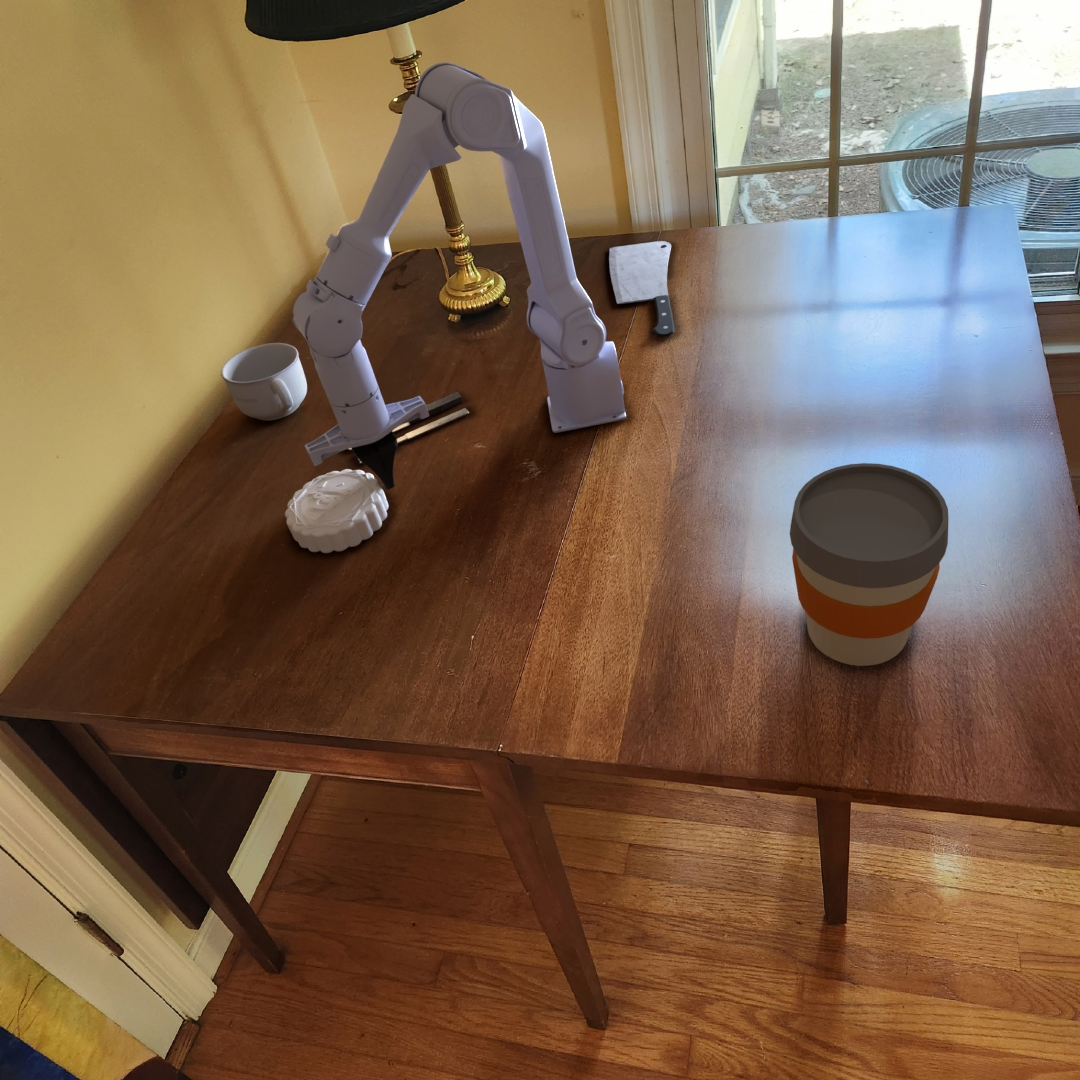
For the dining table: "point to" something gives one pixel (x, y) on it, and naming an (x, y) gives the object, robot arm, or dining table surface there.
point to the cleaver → (643, 279)
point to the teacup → (266, 380)
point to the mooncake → (337, 510)
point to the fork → (431, 427)
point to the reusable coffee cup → (866, 558)
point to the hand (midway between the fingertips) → (388, 484)
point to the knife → (433, 409)
